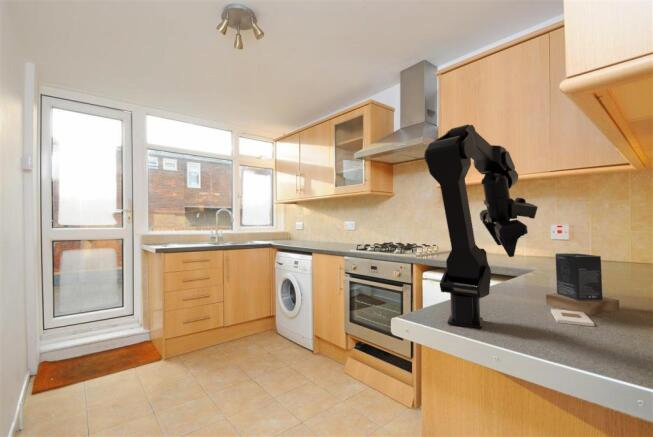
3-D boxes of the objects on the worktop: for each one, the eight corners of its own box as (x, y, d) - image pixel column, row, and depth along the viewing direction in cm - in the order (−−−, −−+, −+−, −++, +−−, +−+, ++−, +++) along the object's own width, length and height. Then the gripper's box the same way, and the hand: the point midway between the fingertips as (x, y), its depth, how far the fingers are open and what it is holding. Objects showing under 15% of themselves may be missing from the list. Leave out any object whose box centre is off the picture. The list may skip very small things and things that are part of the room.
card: (594, 326, 61) (594, 322, 61) (557, 322, 64) (557, 318, 64) (583, 314, 69) (583, 311, 69) (550, 311, 72) (550, 308, 72)
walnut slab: (589, 314, 69) (588, 303, 69) (546, 304, 78) (545, 294, 79) (619, 310, 72) (619, 299, 72) (574, 300, 81) (574, 291, 81)
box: (603, 301, 71) (601, 255, 71) (577, 300, 72) (575, 255, 72) (579, 293, 79) (578, 252, 79) (556, 293, 79) (554, 252, 80)
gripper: (548, 195, 70) (555, 258, 73) (517, 184, 88) (523, 235, 91) (495, 206, 73) (504, 265, 76) (475, 192, 90) (483, 241, 94)
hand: (505, 250), depth 84 cm, fingers open, 9 cm apart
